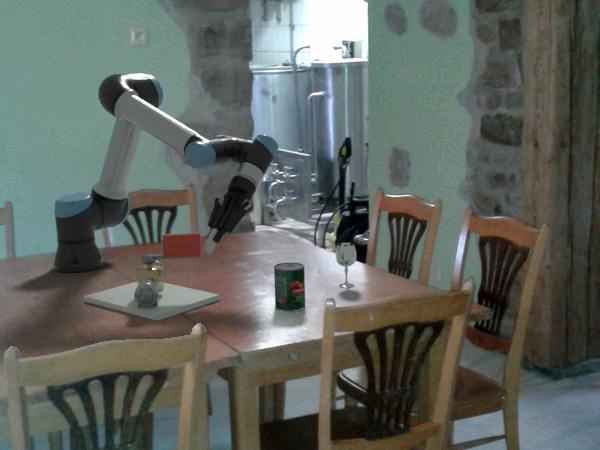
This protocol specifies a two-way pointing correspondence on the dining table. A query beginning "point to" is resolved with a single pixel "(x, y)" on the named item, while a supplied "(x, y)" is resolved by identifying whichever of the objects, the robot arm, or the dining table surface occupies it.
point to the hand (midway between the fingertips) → (206, 250)
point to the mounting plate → (169, 300)
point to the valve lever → (177, 247)
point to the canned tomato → (289, 286)
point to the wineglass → (346, 259)
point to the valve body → (149, 284)
